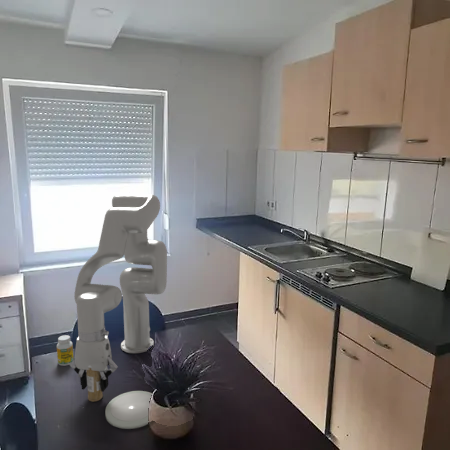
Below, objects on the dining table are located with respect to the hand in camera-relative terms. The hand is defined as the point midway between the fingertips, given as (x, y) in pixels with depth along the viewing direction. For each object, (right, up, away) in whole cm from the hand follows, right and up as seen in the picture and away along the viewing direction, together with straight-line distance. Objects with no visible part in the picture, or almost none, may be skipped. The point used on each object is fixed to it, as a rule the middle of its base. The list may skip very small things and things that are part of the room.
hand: (94, 387), depth 126 cm
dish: (+13, -5, -5) cm, 15 cm away
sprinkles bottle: (0, -4, +1) cm, 4 cm away
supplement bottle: (-17, 0, +21) cm, 27 cm away
